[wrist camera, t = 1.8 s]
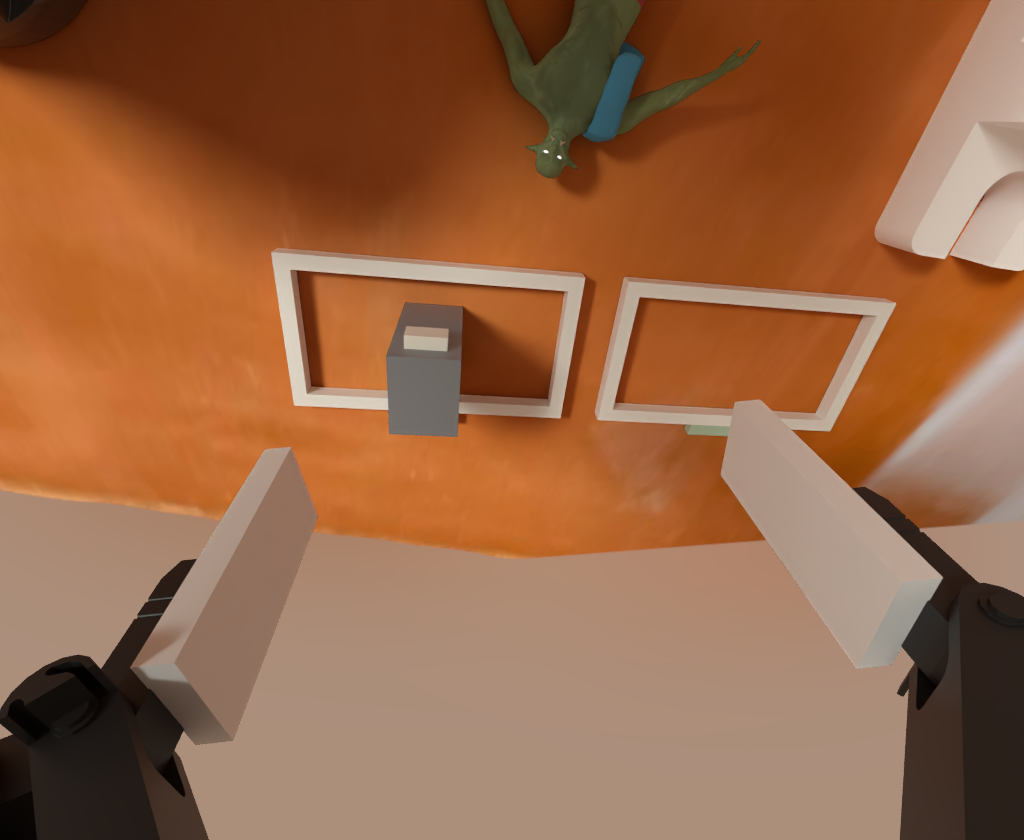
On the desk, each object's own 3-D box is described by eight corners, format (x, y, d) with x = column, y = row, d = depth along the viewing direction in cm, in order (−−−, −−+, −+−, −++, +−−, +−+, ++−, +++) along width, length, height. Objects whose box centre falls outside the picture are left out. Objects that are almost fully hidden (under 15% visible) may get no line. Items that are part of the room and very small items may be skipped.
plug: (406, 367, 36) (389, 433, 29) (404, 291, 33) (385, 342, 26) (459, 370, 37) (457, 436, 29) (463, 295, 34) (461, 346, 26)
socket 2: (591, 424, 40) (594, 432, 39) (623, 276, 34) (628, 281, 33) (815, 435, 43) (823, 443, 41) (884, 298, 36) (896, 303, 35)
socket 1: (301, 411, 38) (296, 419, 37) (277, 247, 31) (270, 252, 30) (556, 423, 40) (558, 431, 39) (581, 273, 34) (585, 277, 33)
